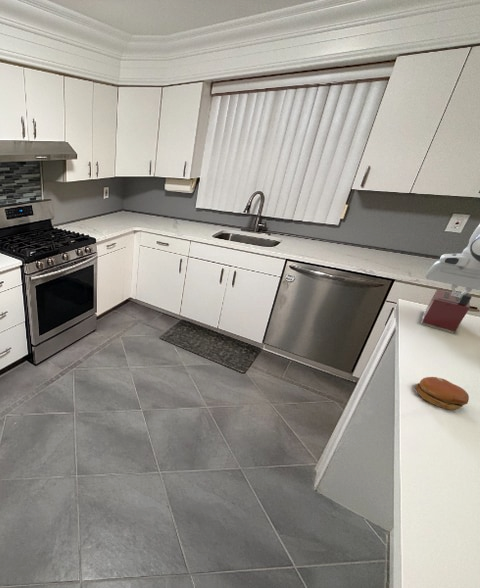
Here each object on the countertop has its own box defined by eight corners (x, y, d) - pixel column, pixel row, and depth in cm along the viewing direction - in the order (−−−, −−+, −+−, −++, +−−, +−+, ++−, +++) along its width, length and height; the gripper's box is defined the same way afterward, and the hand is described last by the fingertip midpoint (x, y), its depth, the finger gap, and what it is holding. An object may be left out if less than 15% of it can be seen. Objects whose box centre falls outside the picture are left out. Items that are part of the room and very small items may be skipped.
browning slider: (458, 301, 115) (463, 293, 114) (466, 303, 114) (471, 295, 113) (458, 303, 114) (463, 295, 113) (466, 305, 113) (471, 297, 111)
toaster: (423, 312, 132) (437, 288, 127) (455, 320, 125) (470, 296, 121) (420, 323, 122) (434, 299, 118) (454, 333, 116) (470, 307, 112)
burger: (433, 409, 81) (442, 395, 79) (405, 385, 90) (412, 372, 88) (475, 413, 80) (485, 399, 78) (442, 388, 89) (450, 375, 87)
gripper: (522, 268, 104) (498, 304, 110) (436, 253, 118) (419, 286, 124) (525, 272, 100) (499, 309, 106) (435, 256, 114) (417, 290, 120)
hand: (455, 297), depth 115 cm, fingers closed
